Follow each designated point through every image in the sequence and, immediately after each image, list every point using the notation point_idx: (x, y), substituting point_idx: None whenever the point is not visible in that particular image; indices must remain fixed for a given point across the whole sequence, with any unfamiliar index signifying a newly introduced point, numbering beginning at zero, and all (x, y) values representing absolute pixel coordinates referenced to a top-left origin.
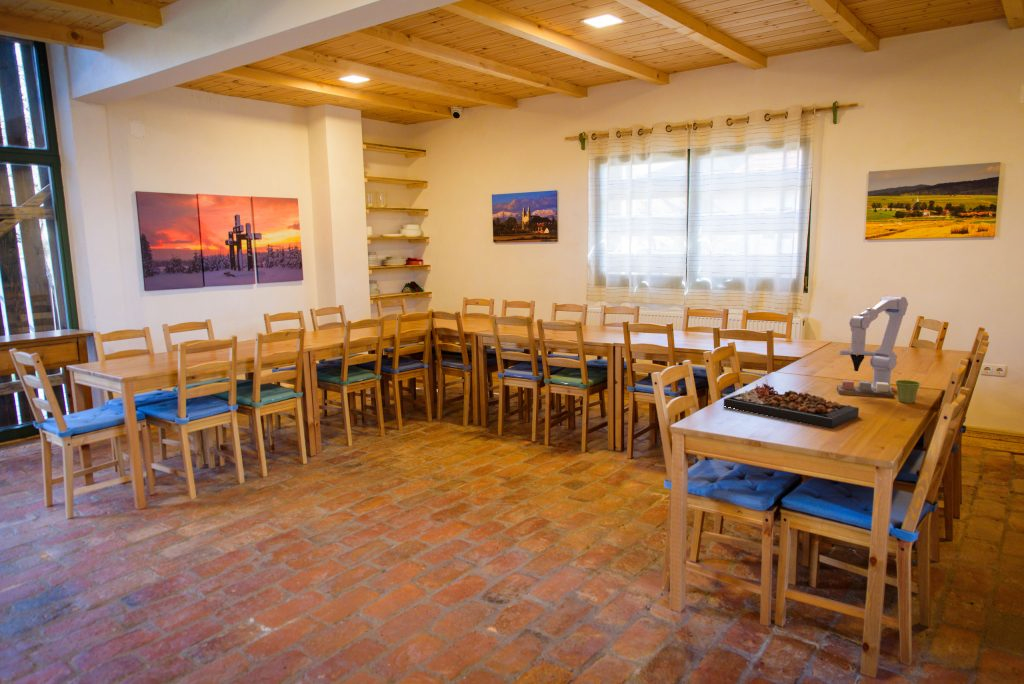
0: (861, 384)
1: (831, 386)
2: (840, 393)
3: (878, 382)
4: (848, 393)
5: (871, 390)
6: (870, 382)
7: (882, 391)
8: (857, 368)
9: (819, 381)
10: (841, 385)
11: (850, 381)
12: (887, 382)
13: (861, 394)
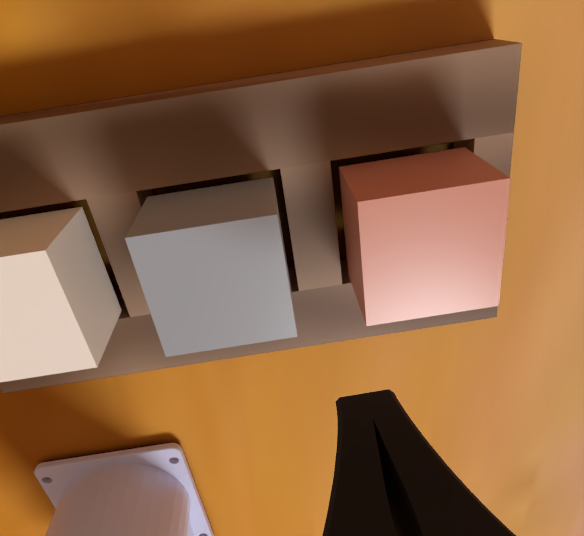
0: (255, 207)
1: (502, 381)
2: (480, 43)
3: (59, 346)
4: (391, 57)
5: None
6: (148, 299)
7: (19, 217)
8: (361, 429)
9: (560, 492)
10: (451, 323)
11: (402, 245)
12: (55, 524)
13: (242, 79)
